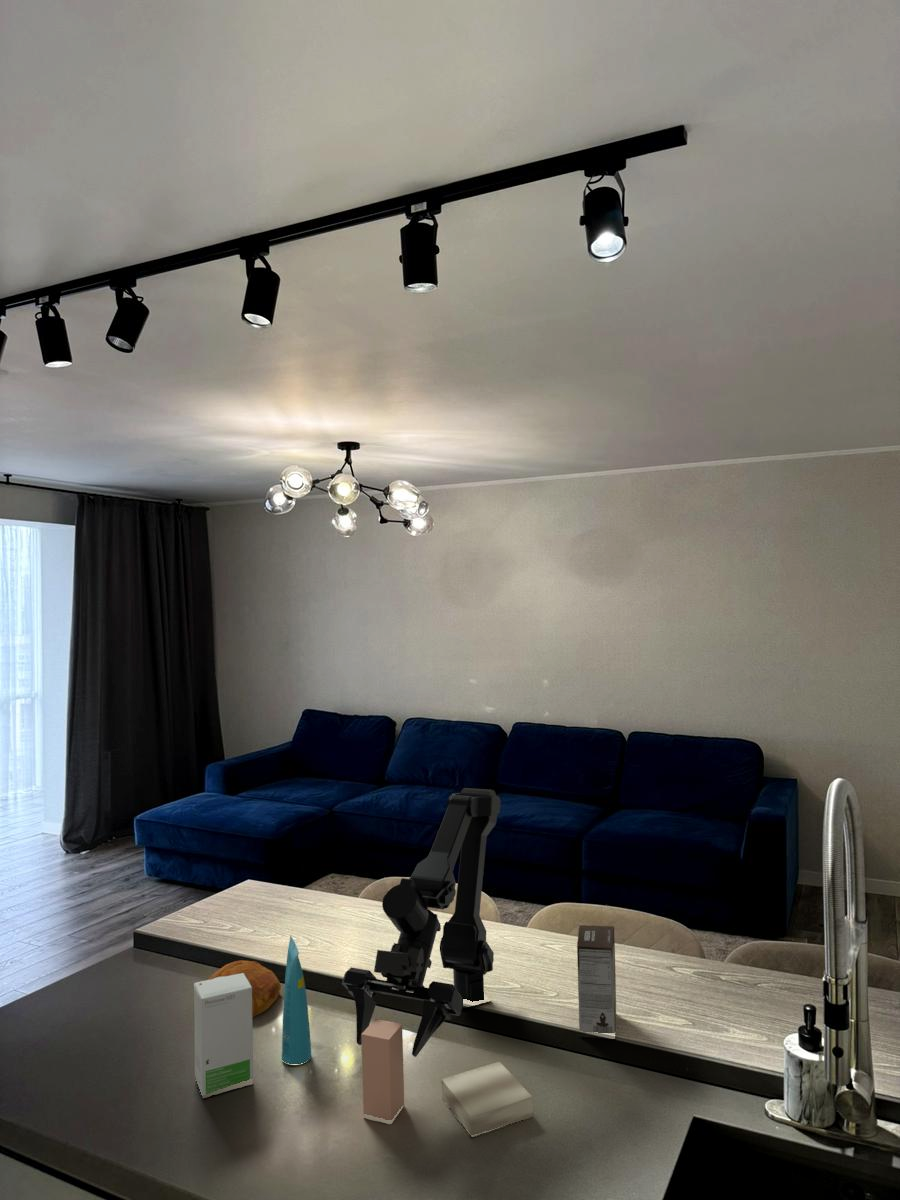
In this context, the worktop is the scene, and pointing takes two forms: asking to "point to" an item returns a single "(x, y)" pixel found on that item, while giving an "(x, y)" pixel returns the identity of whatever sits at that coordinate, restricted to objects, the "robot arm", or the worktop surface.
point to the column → (382, 1069)
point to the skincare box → (223, 1032)
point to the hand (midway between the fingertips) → (385, 1049)
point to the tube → (295, 1012)
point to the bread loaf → (254, 982)
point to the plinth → (486, 1098)
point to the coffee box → (596, 979)
